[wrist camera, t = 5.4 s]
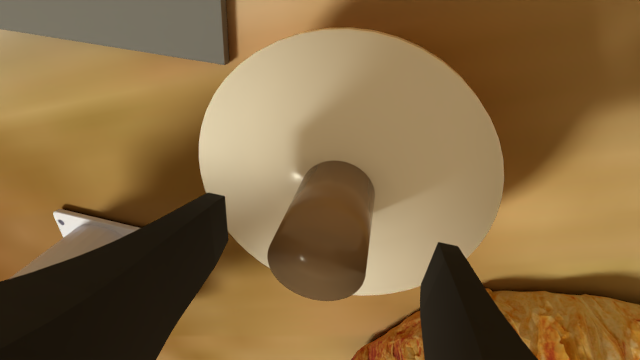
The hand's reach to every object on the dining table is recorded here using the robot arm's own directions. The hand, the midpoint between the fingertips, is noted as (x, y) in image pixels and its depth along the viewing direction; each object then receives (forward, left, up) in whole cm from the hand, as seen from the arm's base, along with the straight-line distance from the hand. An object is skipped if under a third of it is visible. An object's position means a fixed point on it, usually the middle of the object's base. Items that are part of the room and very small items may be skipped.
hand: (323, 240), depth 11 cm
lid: (0, 0, -3) cm, 3 cm away
